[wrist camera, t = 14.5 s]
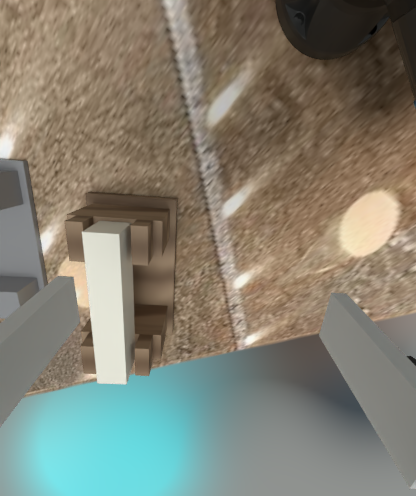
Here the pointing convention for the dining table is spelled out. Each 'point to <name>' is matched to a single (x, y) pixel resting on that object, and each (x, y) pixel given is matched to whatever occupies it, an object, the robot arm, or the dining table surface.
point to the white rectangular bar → (111, 298)
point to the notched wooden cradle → (135, 267)
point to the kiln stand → (18, 239)
